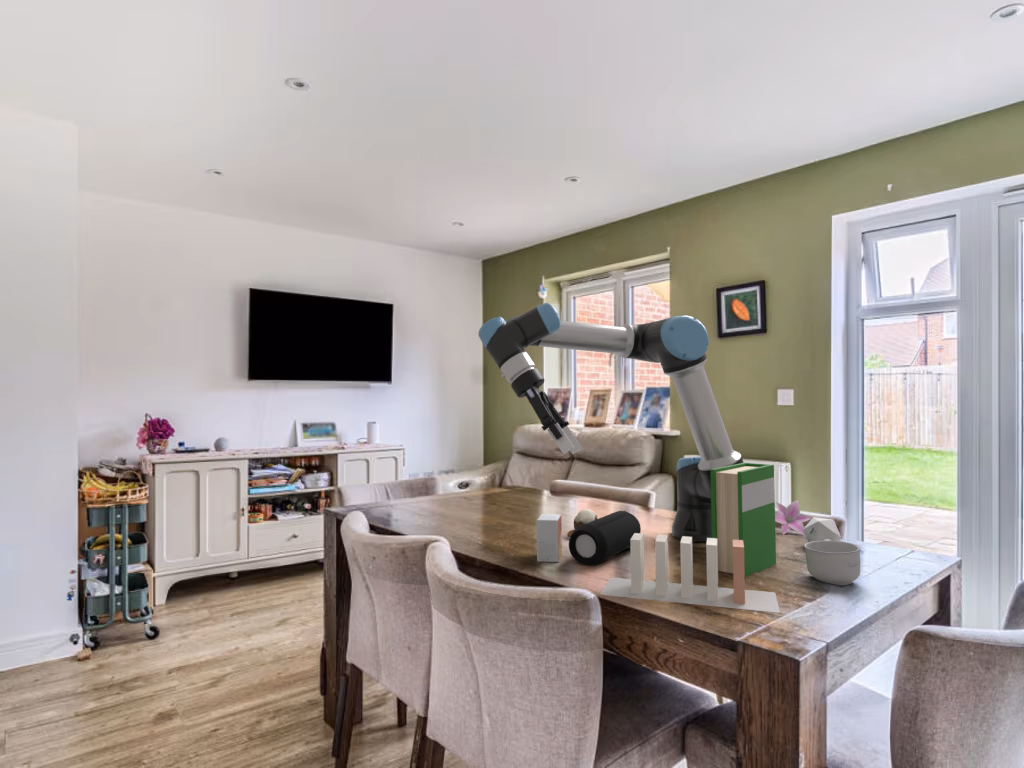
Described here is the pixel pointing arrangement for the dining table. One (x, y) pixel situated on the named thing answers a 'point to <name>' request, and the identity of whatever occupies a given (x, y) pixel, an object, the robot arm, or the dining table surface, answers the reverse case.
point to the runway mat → (694, 595)
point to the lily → (790, 517)
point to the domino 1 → (637, 563)
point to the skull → (583, 519)
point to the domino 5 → (738, 571)
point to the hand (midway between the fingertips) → (573, 451)
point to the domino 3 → (686, 567)
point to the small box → (549, 537)
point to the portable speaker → (603, 537)
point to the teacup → (833, 561)
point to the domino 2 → (661, 564)
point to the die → (821, 530)
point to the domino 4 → (712, 569)
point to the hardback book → (744, 515)
